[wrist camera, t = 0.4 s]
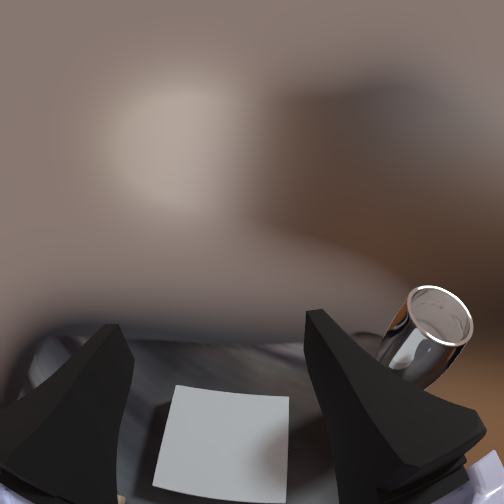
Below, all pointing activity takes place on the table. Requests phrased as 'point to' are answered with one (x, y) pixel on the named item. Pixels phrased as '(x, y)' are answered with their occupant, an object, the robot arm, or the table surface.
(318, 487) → the table surface
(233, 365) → the table surface
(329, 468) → the table surface
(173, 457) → the ceramic box
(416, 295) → the beer glass
